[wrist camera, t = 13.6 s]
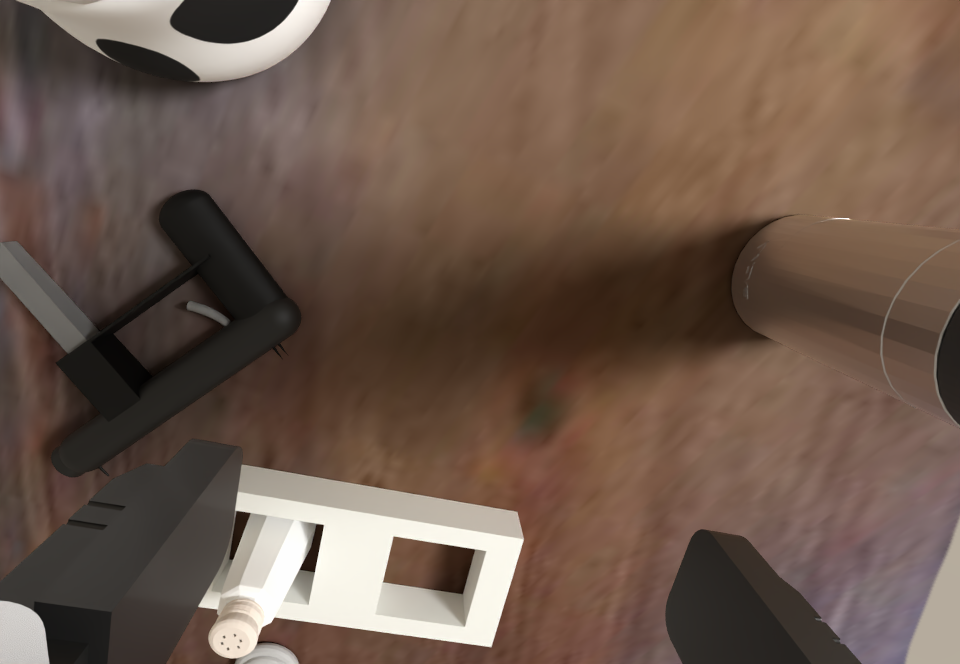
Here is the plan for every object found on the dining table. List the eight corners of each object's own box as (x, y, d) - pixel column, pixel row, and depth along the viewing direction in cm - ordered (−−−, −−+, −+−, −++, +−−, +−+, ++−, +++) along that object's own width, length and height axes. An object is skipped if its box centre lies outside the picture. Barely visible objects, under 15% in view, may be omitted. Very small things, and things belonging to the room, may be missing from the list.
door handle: (-99, 310, 34) (80, 499, 38) (147, 125, 33) (313, 340, 36) (-52, 301, 38) (110, 476, 41) (175, 133, 36) (325, 330, 39)
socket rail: (517, 511, 44) (523, 539, 41) (487, 613, 46) (491, 646, 43) (209, 458, 41) (188, 483, 37) (194, 570, 43) (173, 603, 40)
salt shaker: (255, 562, 43) (196, 685, 33) (239, 503, 42) (172, 612, 31) (323, 552, 44) (287, 670, 33) (309, 493, 42) (267, 597, 32)
